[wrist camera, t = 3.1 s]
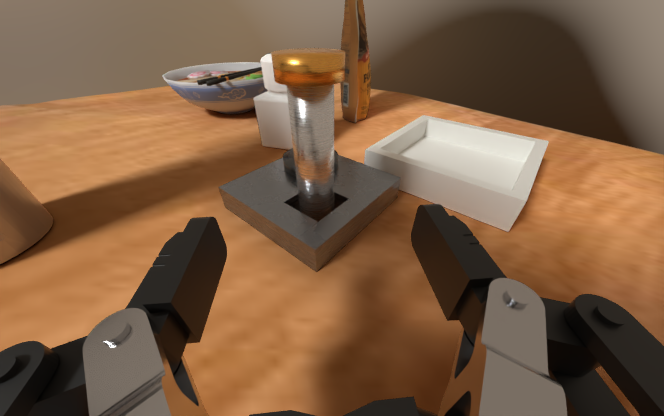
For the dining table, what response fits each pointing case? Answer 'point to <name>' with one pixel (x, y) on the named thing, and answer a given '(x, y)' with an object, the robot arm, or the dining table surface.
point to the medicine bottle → (273, 110)
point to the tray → (462, 167)
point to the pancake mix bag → (355, 63)
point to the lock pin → (312, 120)
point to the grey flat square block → (299, 229)
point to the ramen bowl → (219, 85)
